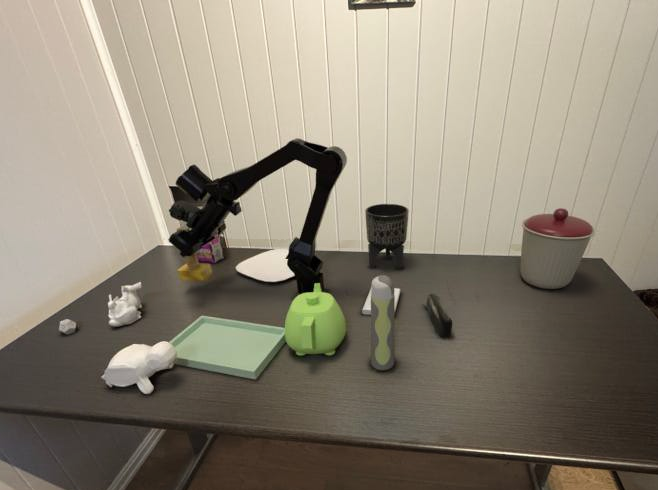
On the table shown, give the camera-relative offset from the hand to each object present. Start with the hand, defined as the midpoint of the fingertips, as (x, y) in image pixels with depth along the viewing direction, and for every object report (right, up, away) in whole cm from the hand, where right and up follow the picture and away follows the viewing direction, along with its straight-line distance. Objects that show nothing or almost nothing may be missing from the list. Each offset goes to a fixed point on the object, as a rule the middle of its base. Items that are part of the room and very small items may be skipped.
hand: (185, 253), depth 102 cm
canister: (+101, -7, +7) cm, 101 cm away
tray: (+18, -24, -18) cm, 35 cm away
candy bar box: (-5, +2, +26) cm, 26 cm away
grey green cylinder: (+53, -27, -24) cm, 64 cm away
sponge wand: (+2, -6, +3) cm, 7 cm away
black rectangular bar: (+67, -18, -10) cm, 70 cm away
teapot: (+38, -23, -17) cm, 48 cm away
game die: (-22, -21, -11) cm, 33 cm away
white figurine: (-10, -18, -6) cm, 21 cm away
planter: (+56, -1, +19) cm, 59 cm away
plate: (+21, -2, +18) cm, 28 cm away
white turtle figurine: (+6, -30, -26) cm, 40 cm away
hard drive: (+53, -14, -2) cm, 55 cm away
